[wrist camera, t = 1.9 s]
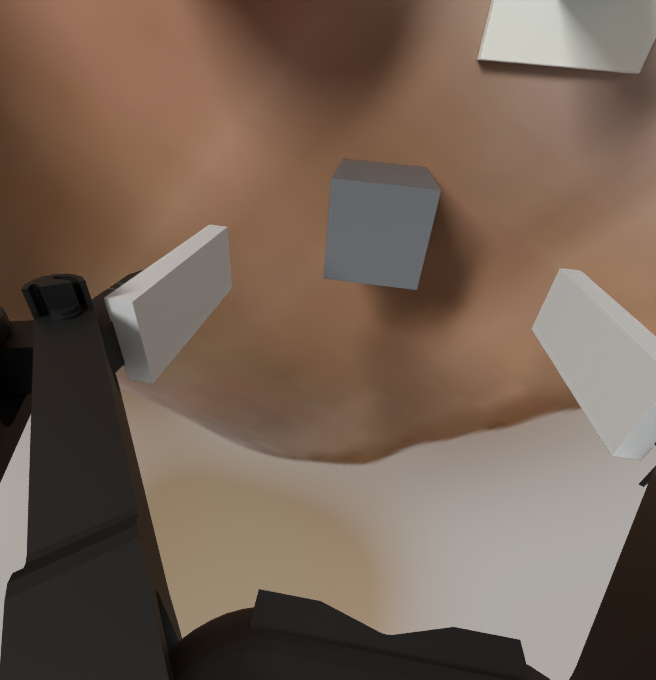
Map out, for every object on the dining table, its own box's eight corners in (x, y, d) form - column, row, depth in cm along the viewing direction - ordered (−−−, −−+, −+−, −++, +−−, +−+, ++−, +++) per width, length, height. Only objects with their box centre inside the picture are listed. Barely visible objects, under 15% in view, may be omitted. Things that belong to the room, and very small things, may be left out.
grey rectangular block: (336, 239, 26) (323, 278, 20) (343, 158, 23) (331, 178, 17) (409, 248, 25) (417, 290, 20) (426, 167, 22) (441, 190, 17)
